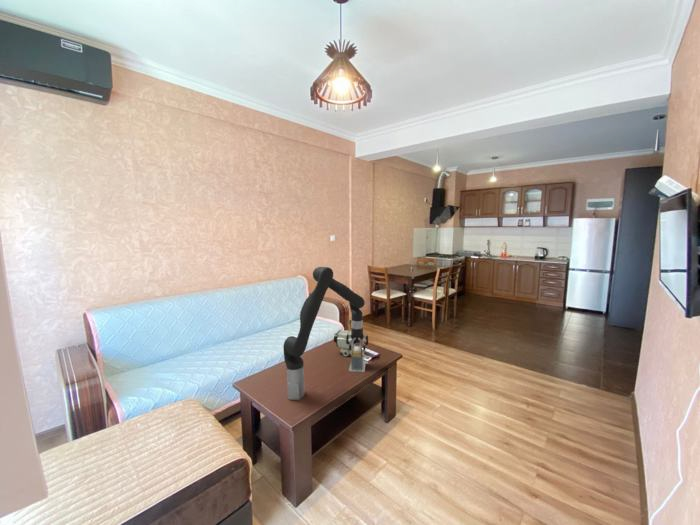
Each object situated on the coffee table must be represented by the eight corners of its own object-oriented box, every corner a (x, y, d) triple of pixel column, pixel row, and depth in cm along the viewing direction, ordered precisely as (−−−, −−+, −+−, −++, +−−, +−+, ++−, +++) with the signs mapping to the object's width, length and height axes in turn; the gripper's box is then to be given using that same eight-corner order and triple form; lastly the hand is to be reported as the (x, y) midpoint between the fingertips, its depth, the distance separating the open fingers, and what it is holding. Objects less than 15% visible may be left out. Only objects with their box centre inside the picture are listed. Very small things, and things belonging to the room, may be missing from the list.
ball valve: (333, 355, 210) (332, 331, 207) (337, 350, 218) (336, 327, 215) (357, 358, 205) (357, 334, 202) (360, 353, 213) (360, 329, 210)
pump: (360, 355, 190) (360, 345, 188) (353, 355, 190) (353, 345, 189) (361, 352, 194) (361, 342, 193) (354, 352, 195) (353, 342, 194)
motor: (364, 372, 187) (364, 354, 185) (348, 371, 188) (348, 353, 186) (365, 362, 199) (365, 345, 197) (351, 361, 200) (350, 345, 198)
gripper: (345, 328, 186) (345, 352, 189) (367, 328, 185) (368, 353, 187) (346, 324, 194) (347, 347, 196) (368, 324, 192) (368, 348, 195)
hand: (357, 350), depth 192 cm, fingers open, 8 cm apart
